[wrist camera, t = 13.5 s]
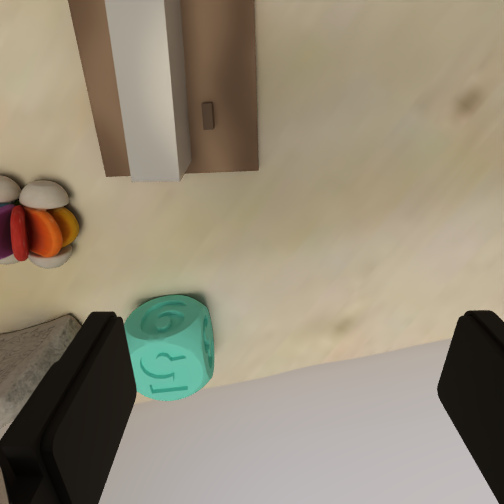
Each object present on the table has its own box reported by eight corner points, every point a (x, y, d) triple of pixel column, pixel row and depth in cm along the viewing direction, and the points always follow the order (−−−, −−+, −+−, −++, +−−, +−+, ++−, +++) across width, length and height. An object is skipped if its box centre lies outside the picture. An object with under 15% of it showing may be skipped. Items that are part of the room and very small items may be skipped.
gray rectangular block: (177, -32, 26) (157, -65, 20) (191, 160, 33) (179, 181, 26) (129, -32, 26) (94, -66, 20) (152, 160, 33) (131, 181, 26)
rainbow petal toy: (87, 258, 39) (56, 295, 32) (-8, 248, 38) (-60, 284, 31) (82, 180, 35) (45, 205, 28) (-24, 167, 34) (-87, 190, 28)
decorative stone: (69, 302, 41) (-16, 414, 27) (97, 341, 43) (32, 461, 30) (-12, 330, 42) (-130, 449, 29) (19, 366, 45) (-76, 491, 31)
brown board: (250, -115, 26) (251, -141, 23) (257, 166, 34) (259, 175, 31) (52, -108, 26) (26, -133, 22) (111, 172, 34) (98, 182, 31)
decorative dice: (151, 352, 44) (134, 406, 37) (135, 298, 41) (112, 345, 34) (216, 345, 44) (211, 398, 37) (205, 290, 41) (197, 336, 33)
